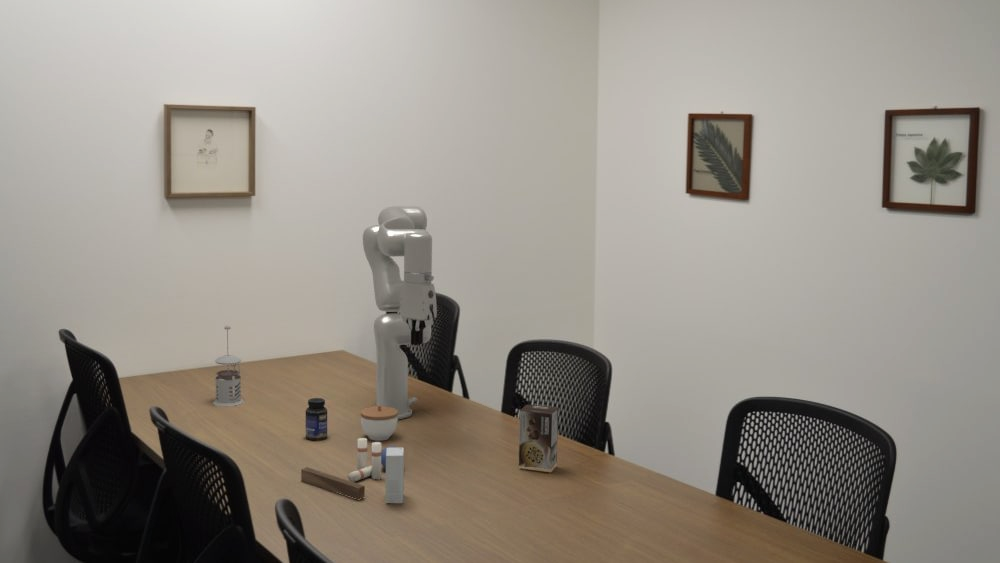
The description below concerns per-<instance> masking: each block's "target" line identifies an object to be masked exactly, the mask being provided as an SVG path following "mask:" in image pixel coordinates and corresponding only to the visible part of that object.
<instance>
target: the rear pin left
mask: <svg viewBox="0 0 1000 563" xmlns="http://www.w3.org/2000/svg"><path fill="white" fill-rule="evenodd" d="M382 451H383V450H382V442H381V441H375V442H374V441H373V442H372V443H371V455H370V456H371V465H372V475H371V479H372V478H373V479H372V480H375V479H377V480H380V479H379V478H381V479H382V464H381V455H382Z"/></svg>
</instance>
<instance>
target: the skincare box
mask: <svg viewBox="0 0 1000 563" xmlns="http://www.w3.org/2000/svg"><path fill="white" fill-rule="evenodd" d="M386 448H387V447H386ZM404 462H405V449H404V447H397V448H387V449H386V468H385V504H386V503H403V504H404V498H405V497H404V495H405V494H404V492H405V491H404V488H405V485H404V484H405V483H404V481H405V480H404V479H405V478H404V476H405V470H404V468H405V467H404V466H405V463H404Z"/></svg>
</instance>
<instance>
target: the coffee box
mask: <svg viewBox="0 0 1000 563" xmlns="http://www.w3.org/2000/svg"><path fill="white" fill-rule="evenodd" d="M518 427H519V430H518V431H519V433H518V434H519V435H518V436H519V438H518V440H519V442H518V467H519V466H524V467H534V468H544V469H552V468H553V467H554V465H555V464H556V463H557V464H558V441H559V440H558V435H559V434H558V433H559V407H554V406H545V405H536V404H525V405H524V406H523V407H522V408H521V409H520V410H519V426H518Z"/></svg>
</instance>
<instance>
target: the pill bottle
mask: <svg viewBox="0 0 1000 563" xmlns="http://www.w3.org/2000/svg"><path fill="white" fill-rule="evenodd" d="M325 401H326V399H324V398H321V397H313V398H310V399H309V398H308V400H307V405H308V407H307V408H305V438H306V439H307V440H310V441H317V440H318V441H323V440H325V439H326V438H328V409H327V408H326V407H325V405H326V402H325Z"/></svg>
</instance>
